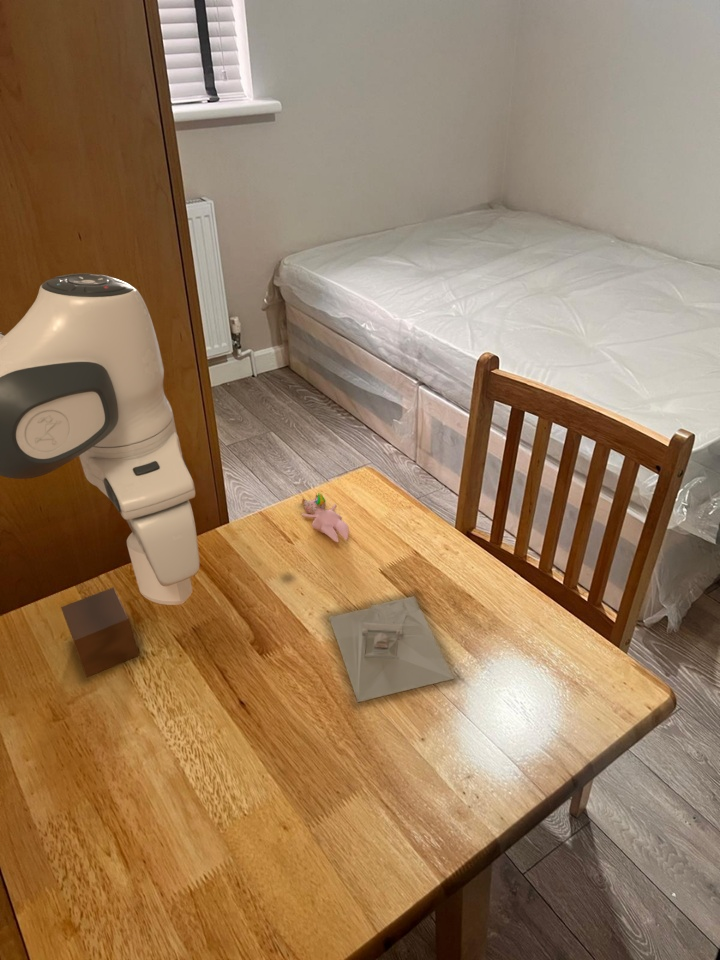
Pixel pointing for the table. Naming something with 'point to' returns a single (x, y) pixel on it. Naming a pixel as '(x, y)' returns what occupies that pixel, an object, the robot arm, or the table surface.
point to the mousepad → (389, 649)
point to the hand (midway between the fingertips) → (158, 561)
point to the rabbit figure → (325, 518)
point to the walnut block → (100, 631)
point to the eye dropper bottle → (155, 579)
